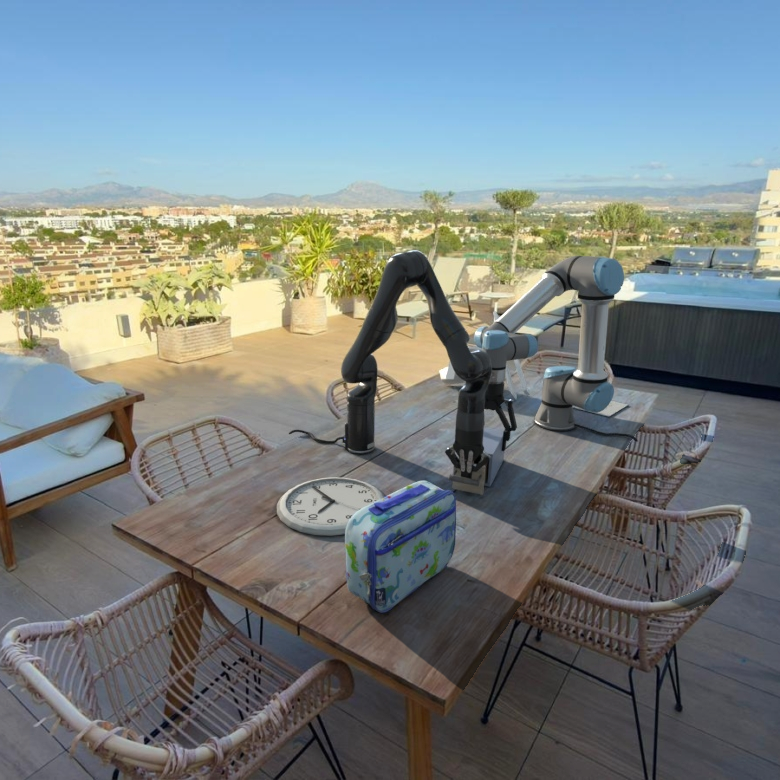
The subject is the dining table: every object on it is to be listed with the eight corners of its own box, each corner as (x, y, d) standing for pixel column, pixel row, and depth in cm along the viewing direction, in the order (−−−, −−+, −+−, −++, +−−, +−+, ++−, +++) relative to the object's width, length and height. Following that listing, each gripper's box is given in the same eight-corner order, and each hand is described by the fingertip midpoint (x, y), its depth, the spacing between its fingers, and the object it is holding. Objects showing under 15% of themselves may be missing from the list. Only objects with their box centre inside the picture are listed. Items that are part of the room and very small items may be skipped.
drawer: (477, 504, 143) (480, 475, 140) (446, 497, 146) (448, 469, 144) (496, 467, 165) (498, 442, 162) (469, 462, 168) (470, 437, 165)
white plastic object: (461, 429, 252) (437, 405, 227) (444, 352, 274) (420, 323, 250) (535, 404, 240) (518, 377, 215) (510, 326, 262) (492, 293, 237)
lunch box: (374, 626, 100) (375, 530, 93) (338, 598, 107) (337, 508, 101) (459, 568, 117) (465, 484, 111) (424, 547, 124) (427, 467, 118)
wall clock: (392, 527, 129) (268, 531, 127) (391, 533, 130) (269, 537, 127) (383, 473, 158) (282, 475, 155) (383, 478, 158) (282, 480, 156)
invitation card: (608, 416, 214) (573, 407, 224) (608, 416, 214) (573, 408, 224) (628, 404, 229) (594, 396, 238) (628, 405, 229) (594, 397, 238)
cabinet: (490, 487, 155) (492, 454, 151) (457, 480, 158) (459, 448, 155) (503, 460, 173) (506, 430, 169) (473, 454, 176) (475, 425, 173)
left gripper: (442, 425, 139) (439, 483, 145) (491, 433, 135) (486, 493, 140) (449, 416, 146) (447, 472, 151) (497, 423, 141) (492, 481, 147)
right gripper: (453, 379, 163) (449, 444, 170) (527, 388, 155) (520, 457, 162) (460, 373, 170) (456, 436, 177) (531, 382, 162) (524, 448, 168)
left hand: (466, 482), depth 146 cm, fingers closed
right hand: (486, 446), depth 169 cm, fingers closed on cabinet, 10 cm apart
